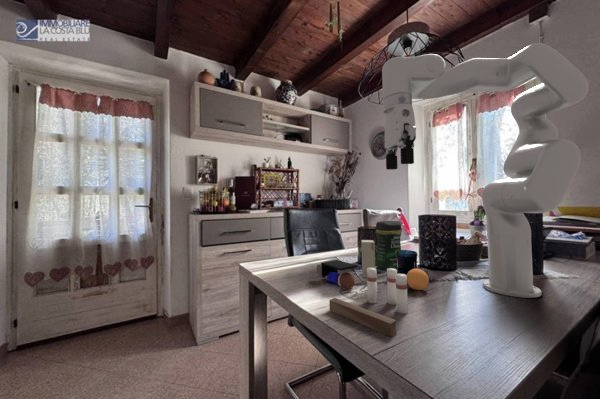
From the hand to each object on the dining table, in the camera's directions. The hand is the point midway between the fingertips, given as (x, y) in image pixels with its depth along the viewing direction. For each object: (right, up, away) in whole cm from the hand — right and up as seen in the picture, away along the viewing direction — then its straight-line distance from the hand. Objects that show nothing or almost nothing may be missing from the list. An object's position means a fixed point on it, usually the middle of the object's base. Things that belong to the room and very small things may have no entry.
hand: (399, 166), depth 68 cm
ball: (+7, -33, +4) cm, 33 cm away
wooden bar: (-14, -36, -14) cm, 41 cm away
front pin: (-4, -36, -5) cm, 36 cm away
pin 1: (-9, -36, -4) cm, 37 cm away
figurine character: (-16, -37, +11) cm, 41 cm away
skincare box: (-3, -36, +19) cm, 41 cm away
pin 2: (-3, -36, -10) cm, 37 cm away
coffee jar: (+8, -36, +28) cm, 46 cm away
